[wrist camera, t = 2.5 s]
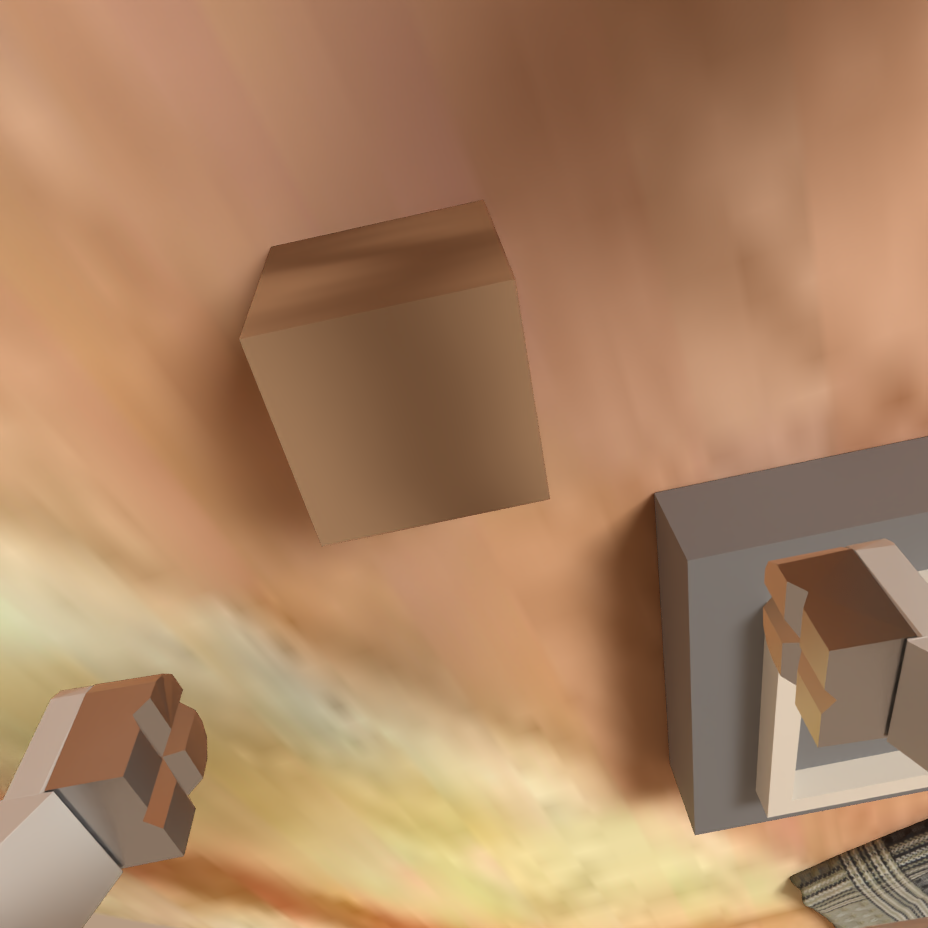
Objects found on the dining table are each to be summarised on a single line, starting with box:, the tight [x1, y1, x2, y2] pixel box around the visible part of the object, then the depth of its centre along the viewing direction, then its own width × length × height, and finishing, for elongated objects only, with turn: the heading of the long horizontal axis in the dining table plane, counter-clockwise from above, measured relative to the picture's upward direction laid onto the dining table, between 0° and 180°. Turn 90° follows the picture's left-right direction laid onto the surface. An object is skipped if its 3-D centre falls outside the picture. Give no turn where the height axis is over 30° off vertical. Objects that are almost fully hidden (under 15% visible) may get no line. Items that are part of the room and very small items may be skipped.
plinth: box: [654, 437, 928, 835], centre depth 25 cm, size 14×14×4 cm
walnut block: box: [239, 200, 550, 546], centre depth 17 cm, size 5×5×5 cm
